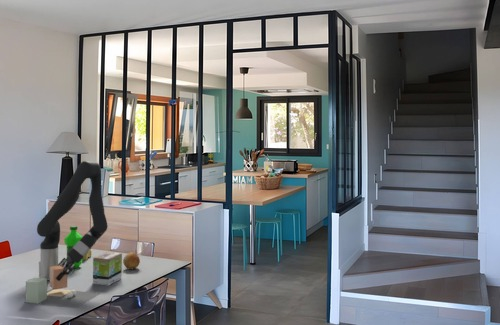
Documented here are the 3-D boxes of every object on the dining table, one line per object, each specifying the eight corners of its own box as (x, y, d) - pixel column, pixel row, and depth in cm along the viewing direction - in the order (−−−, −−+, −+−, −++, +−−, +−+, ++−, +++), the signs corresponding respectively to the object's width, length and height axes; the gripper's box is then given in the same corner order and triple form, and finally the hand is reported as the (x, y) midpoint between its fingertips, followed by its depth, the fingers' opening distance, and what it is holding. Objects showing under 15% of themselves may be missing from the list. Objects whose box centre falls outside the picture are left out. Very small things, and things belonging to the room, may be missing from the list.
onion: (119, 270, 294) (119, 253, 294) (128, 266, 304) (128, 250, 303) (134, 271, 291) (134, 255, 291) (142, 267, 301) (142, 251, 300)
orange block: (53, 289, 244) (53, 269, 244) (49, 286, 249) (49, 266, 249) (67, 287, 248) (67, 267, 247) (63, 284, 253) (63, 265, 253)
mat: (23, 303, 234) (23, 302, 234) (52, 289, 255) (52, 288, 255) (76, 309, 228) (76, 307, 228) (101, 294, 249) (101, 293, 249)
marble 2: (68, 296, 243) (68, 290, 243) (72, 294, 246) (72, 288, 246) (74, 297, 243) (74, 291, 243) (77, 295, 246) (77, 289, 245)
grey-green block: (25, 302, 234) (25, 281, 234) (34, 297, 241) (34, 277, 240) (38, 303, 233) (38, 282, 232) (46, 298, 239) (46, 278, 239)
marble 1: (65, 298, 240) (65, 292, 240) (68, 296, 243) (68, 290, 243) (70, 299, 239) (70, 293, 239) (74, 297, 242) (74, 291, 242)
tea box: (109, 286, 263) (109, 258, 262) (92, 284, 265) (92, 257, 264) (122, 278, 278) (122, 252, 277) (105, 277, 280) (105, 251, 279)
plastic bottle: (86, 266, 301) (86, 226, 300) (71, 270, 292) (71, 228, 291) (75, 264, 306) (75, 224, 305) (61, 267, 297) (60, 226, 296)
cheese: (91, 256, 327) (91, 241, 326) (86, 260, 316) (86, 245, 316) (75, 256, 327) (75, 241, 326) (70, 260, 316) (70, 245, 315)
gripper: (68, 244, 258) (45, 270, 251) (77, 249, 246) (53, 277, 240) (79, 253, 261) (56, 279, 255) (88, 258, 250) (65, 285, 243)
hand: (55, 278), depth 247 cm, fingers closed on orange block, 6 cm apart
